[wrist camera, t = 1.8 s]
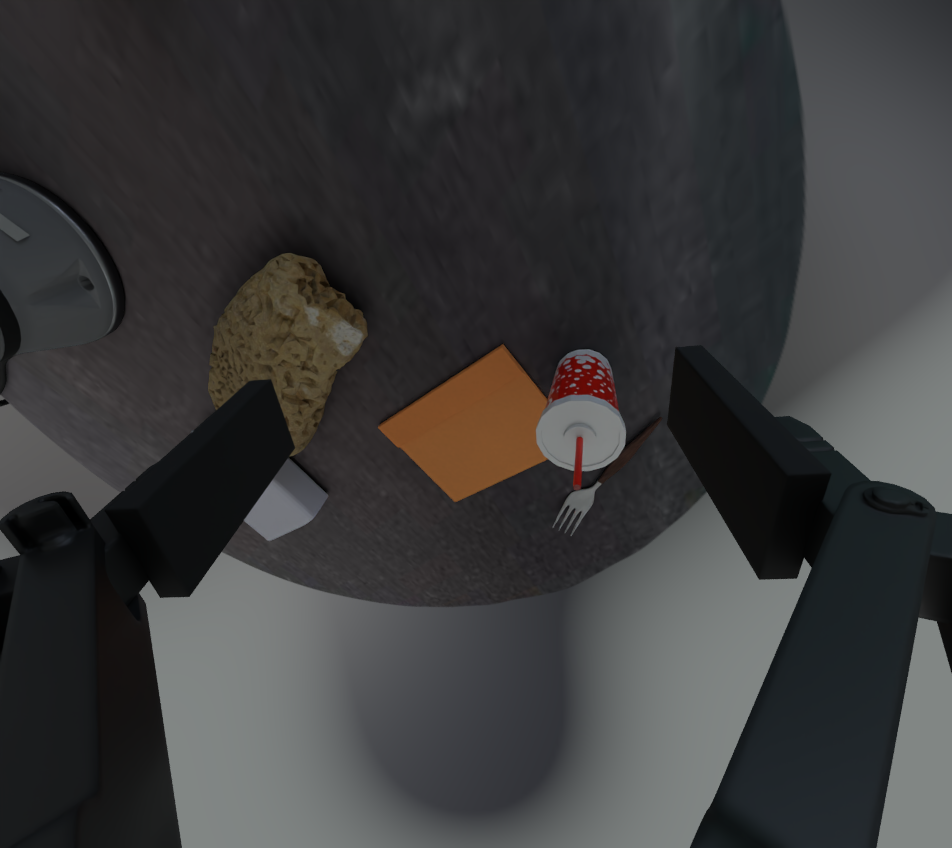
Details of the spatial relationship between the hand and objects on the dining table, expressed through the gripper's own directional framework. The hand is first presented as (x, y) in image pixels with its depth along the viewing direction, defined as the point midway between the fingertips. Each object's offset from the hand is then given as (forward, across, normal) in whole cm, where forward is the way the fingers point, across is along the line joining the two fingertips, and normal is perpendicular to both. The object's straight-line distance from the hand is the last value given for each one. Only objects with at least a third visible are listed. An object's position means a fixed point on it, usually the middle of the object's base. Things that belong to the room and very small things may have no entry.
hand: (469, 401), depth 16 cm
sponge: (+27, -19, -8) cm, 34 cm away
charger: (+30, -29, -21) cm, 47 cm away
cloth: (+25, -3, -16) cm, 30 cm away
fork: (+24, +9, -20) cm, 33 cm away
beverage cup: (+23, +7, -10) cm, 26 cm away
